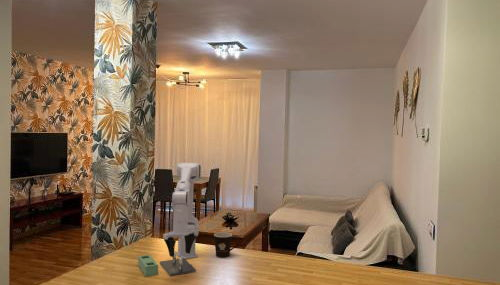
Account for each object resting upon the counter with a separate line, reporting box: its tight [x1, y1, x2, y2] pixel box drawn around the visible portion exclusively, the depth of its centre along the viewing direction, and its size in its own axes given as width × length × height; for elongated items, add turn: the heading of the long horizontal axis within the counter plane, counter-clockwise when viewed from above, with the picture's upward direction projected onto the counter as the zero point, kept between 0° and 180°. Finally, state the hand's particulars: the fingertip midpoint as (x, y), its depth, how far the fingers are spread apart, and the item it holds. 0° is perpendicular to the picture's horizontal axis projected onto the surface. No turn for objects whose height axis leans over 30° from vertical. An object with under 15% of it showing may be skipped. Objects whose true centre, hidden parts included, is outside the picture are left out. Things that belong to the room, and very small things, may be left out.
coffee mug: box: [213, 231, 241, 259], centre depth 185 cm, size 12×9×10 cm
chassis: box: [159, 250, 197, 277], centre depth 169 cm, size 16×11×6 cm
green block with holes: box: [137, 254, 159, 277], centre depth 166 cm, size 14×5×4 cm, turn 28°
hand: (179, 254), depth 158 cm, fingers open, 7 cm apart
